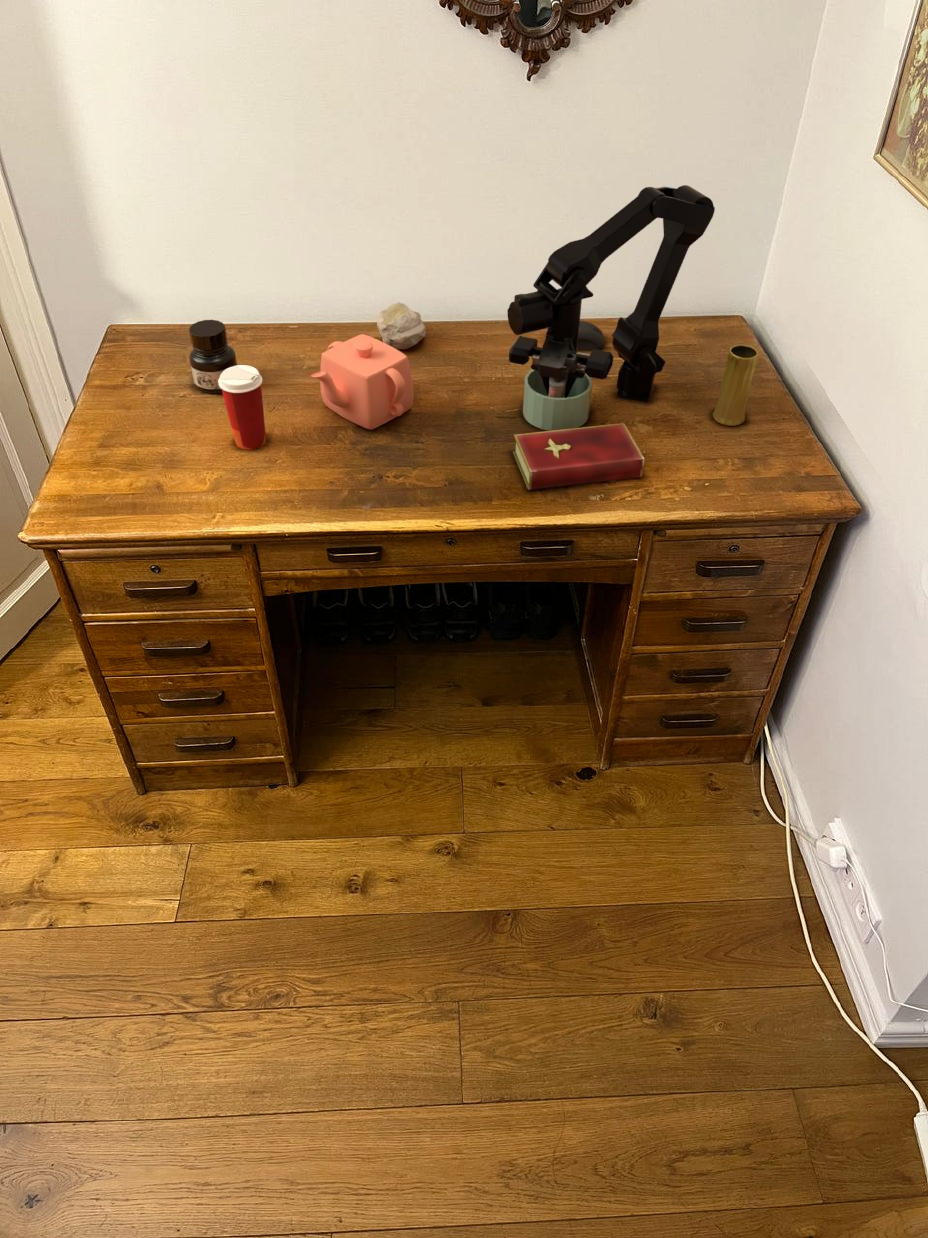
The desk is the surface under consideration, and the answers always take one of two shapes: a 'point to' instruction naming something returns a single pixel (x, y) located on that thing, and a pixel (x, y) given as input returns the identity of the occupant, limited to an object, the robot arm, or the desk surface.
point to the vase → (735, 385)
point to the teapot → (365, 381)
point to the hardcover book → (578, 456)
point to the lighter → (557, 387)
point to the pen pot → (556, 404)
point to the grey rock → (400, 326)
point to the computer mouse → (590, 337)
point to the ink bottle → (210, 354)
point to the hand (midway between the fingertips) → (557, 396)
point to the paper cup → (244, 405)
